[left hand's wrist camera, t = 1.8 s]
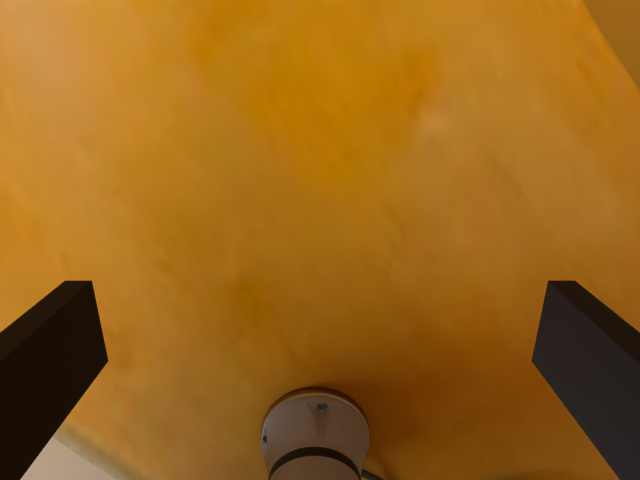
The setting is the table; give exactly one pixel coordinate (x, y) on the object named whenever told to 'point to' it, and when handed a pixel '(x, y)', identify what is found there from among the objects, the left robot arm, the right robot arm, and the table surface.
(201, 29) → the table surface
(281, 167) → the table surface
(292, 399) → the right robot arm
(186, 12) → the table surface
